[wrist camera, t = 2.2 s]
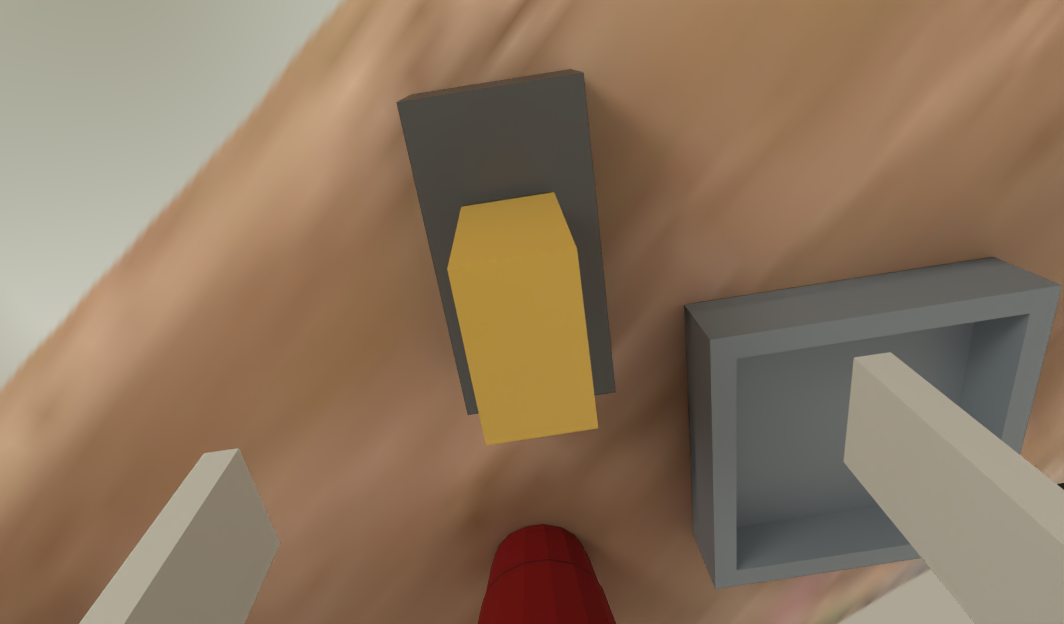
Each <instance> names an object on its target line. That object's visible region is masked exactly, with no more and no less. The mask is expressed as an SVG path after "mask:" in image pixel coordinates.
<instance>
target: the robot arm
mask: <svg viewBox="0 0 1064 624" xmlns="http://www.w3.org/2000/svg"><path fill="white" fill-rule="evenodd" d="M844 463H845V464H846V466H847V467H848V468H849V469H850V471H851V472H852V473H853V474H854V475H855V477H856V478H857V479H858V480H859V482H860V483H861V484H862V485H863V486H864V488H865V489H866V490H867V491H868V493H869V494H870V495H871V496H872V498H873V499H874V500H875V501H876V502H877V504H878V505H879V506H880V507H881V509H882V510H883V511H884V512H885V513H886V515H887V516H888V517H889V518H890V520H891V521H892V522H893V523H894V525H895V526H896V527H897V528H898V529H899V531H900V532H901V533H902V534H903V536H904V537H905V538H906V539H907V540H908V542H909V543H910V544H911V545H912V547H913V548H914V549H915V550H916V552H917V553H918V554H919V555H920V556H921V558H922V559H923V560H924V561H925V563H926V564H927V565H928V566H929V567H930V569H931V570H932V571H933V572H934V574H935V575H936V576H937V577H938V578H939V580H940V581H941V582H942V583H943V585H944V586H945V587H946V588H947V589H948V590H949V592H950V593H951V594H952V596H953V597H954V598H955V599H956V600H957V602H958V603H959V604H960V605H961V607H962V608H963V609H964V610H965V612H966V613H967V614H968V615H969V617H970V618H971V619H972V620H973V621H974V623H975V624H1064V483H1061V484H1056V483H1055V482H1053V481H1052V480H1051V479H1049V478H1048V477H1047V476H1046V475H1044V474H1043V473H1042V472H1041V471H1039V470H1038V469H1037V468H1036V467H1034V466H1033V465H1032V464H1031V463H1029V462H1028V461H1027V460H1026V459H1024V458H1023V457H1022V456H1021V455H1019V454H1018V453H1017V452H1016V451H1014V450H1013V449H1012V448H1010V447H1009V446H1008V445H1007V444H1005V443H1004V442H1003V441H1002V440H1000V439H999V438H998V437H997V436H995V435H994V434H993V433H992V432H990V431H989V430H988V429H987V428H985V427H984V426H983V425H982V424H980V423H979V422H978V421H977V420H975V419H974V418H973V417H971V416H970V415H969V414H968V413H966V412H965V411H964V410H963V409H961V408H960V407H959V406H958V405H956V404H955V403H954V402H953V401H951V400H950V399H949V398H948V397H946V396H945V395H944V394H943V393H941V392H940V391H939V390H938V389H936V388H935V387H934V386H932V385H931V384H930V383H929V382H927V381H926V380H925V379H924V378H922V377H921V376H920V375H919V374H917V373H916V372H915V371H914V370H912V369H911V368H910V367H909V366H907V365H906V364H905V363H904V362H902V361H901V360H900V359H899V358H897V357H896V356H895V355H893V354H892V353H891V352H888V353H881V354H874V355H868V356H861V357H854V361H853V371H852V381H851V391H850V401H849V411H848V421H847V431H846V442H845V452H844ZM279 545H280V541H279V539H278V536H277V534H276V532H275V529H274V527H273V525H272V523H271V520H270V518H269V516H268V514H267V511H266V509H265V507H264V504H263V502H262V500H261V498H260V495H259V493H258V491H257V489H256V486H255V484H254V482H253V479H252V477H251V475H250V473H249V470H248V468H247V466H246V463H245V461H244V459H243V457H242V454H241V452H240V450H239V448H237V449H230V450H224V451H217V452H210V453H204V454H203V455H202V456H201V458H200V459H199V461H198V462H197V463H196V465H195V466H194V467H193V469H192V470H191V471H190V473H189V474H188V476H187V477H186V478H185V480H184V481H183V482H182V484H181V485H180V487H179V488H178V489H177V491H176V492H175V493H174V495H173V496H172V497H171V499H170V500H169V502H168V503H167V504H166V506H165V507H164V508H163V510H162V511H161V512H160V514H159V515H158V517H157V518H156V519H155V521H154V522H153V523H152V525H151V526H150V527H149V529H148V530H147V532H146V533H145V534H144V536H143V537H142V538H141V540H140V541H139V542H138V544H137V545H136V547H135V548H134V549H133V551H132V552H131V553H130V555H129V556H128V558H127V559H126V560H125V562H124V563H123V564H122V566H121V567H120V568H119V570H118V571H117V573H116V574H115V575H114V577H113V578H112V579H111V581H110V582H109V583H108V585H107V586H106V588H105V589H104V590H103V592H102V593H101V594H100V596H99V597H98V598H97V600H96V601H95V603H94V604H93V605H92V607H91V608H90V609H89V611H88V612H87V614H86V615H85V616H84V618H83V619H82V620H81V622H80V623H79V624H245V621H246V619H247V617H248V615H249V612H250V610H251V608H252V606H253V603H254V601H255V599H256V597H257V595H258V592H259V590H260V588H261V586H262V583H263V581H264V579H265V577H266V574H267V572H268V570H269V568H270V565H271V563H272V561H273V559H274V556H275V554H276V552H277V550H278V547H279Z"/></svg>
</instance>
